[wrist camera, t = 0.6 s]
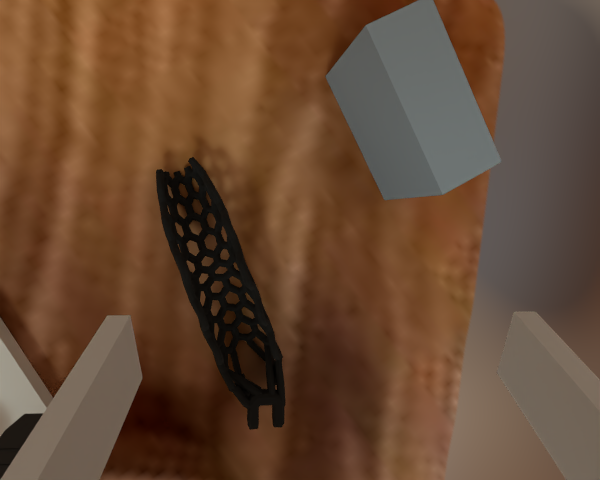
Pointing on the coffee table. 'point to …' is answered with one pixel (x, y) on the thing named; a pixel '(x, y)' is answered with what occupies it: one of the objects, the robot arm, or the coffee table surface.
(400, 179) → the slate block
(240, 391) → the decorative element
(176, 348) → the coffee table surface
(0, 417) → the pegboard
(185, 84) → the coffee table surface
